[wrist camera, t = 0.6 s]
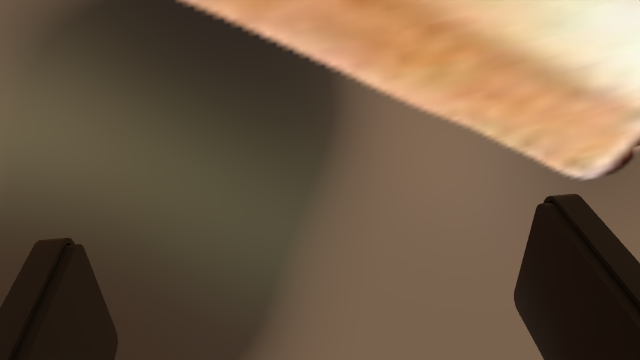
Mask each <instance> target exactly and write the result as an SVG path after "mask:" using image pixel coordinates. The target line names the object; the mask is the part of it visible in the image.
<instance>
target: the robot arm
mask: <svg viewBox="0 0 640 360" xmlns="http://www.w3.org/2000/svg"><path fill="white" fill-rule="evenodd" d="M514 301H515V305H516V308H517V310H518V312H519V314H520V316H521V317H522V320H523V321H524V323H525V325H526V327H527V329H528V330H529V332H530V334H531V336H532V338H533V340H534V342H535V344H536V345H537V347H538V349H539V351H540V353H541V355H542V356H543V358H544V360H640V263H639V262H638V261H637V260H636V259H635V257H634V256H633V255H632V254H631V253H630V252H629V251H628V249H626V247H625V246H624V245H623V244H622V243H621V242H620V240H619V239H618V238H617V237H616V236H615V235H614V234H613V233H612V231H611V230H610V229H609V228H608V227H607V226H606V225H605V223H604V222H603V221H602V220H601V219H600V218H599V217H598V216H597V214H595V212H594V211H593V210H592V209H591V208H590V207H589V205H588V204H587V203H586V202H585V201H584V200H583V199H582V198H581V197H580V196H579V195H577V194H567V195H556V196H549V197H547V198H546V199H545V200H544V203H543V204H539V205H538V206H537V208H536V211H535V215H534V219H533V222H532V226H531V230H530V234H529V238H528V242H527V245H526V249H525V253H524V257H523V261H522V264H521V268H520V272H519V276H518V280H517V283H516V287H515V291H514ZM117 344H118V338H117V332H116V329H115V327H114V324H113V322H112V319H111V316H110V314H109V311H108V309H107V306H106V303H105V301H104V298H103V296H102V293H101V290H100V288H99V285H98V283H97V280H96V278H95V275H94V272H93V270H92V267H91V265H90V262H89V260H88V257H87V254H86V252H85V249H84V247H83V246H82V245H81V244H76V245H75V243H74V242H73V240H72V239H71V238H62V239H50V240H39V241H38V242H36V244H35V245H34V246H33V248H32V250H31V252H30V254H29V256H28V257H27V259H26V261H25V263H24V265H23V267H22V269H21V271H20V272H19V274H18V276H17V278H16V280H15V282H14V284H13V286H12V287H11V289H10V291H9V293H8V295H7V297H6V298H5V300H4V302H3V304H2V306H1V308H0V360H114V358H115V354H116V351H117Z"/></svg>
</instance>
